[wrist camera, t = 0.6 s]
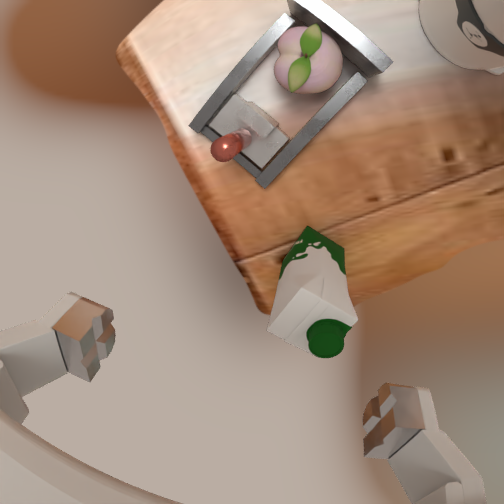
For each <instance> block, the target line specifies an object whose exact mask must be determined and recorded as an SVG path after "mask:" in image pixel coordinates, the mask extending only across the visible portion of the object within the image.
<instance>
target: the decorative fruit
mask: <svg viewBox="0 0 504 504" xmlns="http://www.w3.org/2000/svg"><path fill="white" fill-rule="evenodd" d="M278 50H279V53H280V57H279V58H278V59H277V61H276V63H275V66H274V74H275V77H276V79H277V81H278V82H279V84H280V85H281V86H283V87H284V88H285V89H287V90H289V91H290V92H291V93H292V92H294V93H299V94H312V93H319V92H323V91H325V90H327V89H329V88H330V87H332V86H333V85H334V84H335V83H336V81H337V80H338V78H339V76H340V74H341V71H342V65H343V58H342V53H341V50H340V47H339V45H338V44H337V42H336V41H335V40H334V39H333V38H332V37H331V36H330V35H328V34H326V33H324V32H322V31H321V29H320V27H319V25H318V24H317V23H316V24H313V25H311V26H310V27H305V26H300V27H294V28H290V29H288V30H287V31H285V32H284V33H283V34H282V35H281V37H280V39H279V41H278Z"/></svg>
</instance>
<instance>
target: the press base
mask: <svg viewBox="0 0 504 504" xmlns="http://www.w3.org/2000/svg"><path fill="white" fill-rule="evenodd" d="M287 2H288V6H289V9H290V13H291V14H292V15H294V16H295V17H296V18H298V19H299V20H301V21H302V22H303V23H305V24H306V25H307V26H309V27H310V26H311V25H313V24H316V23H317V24H318V25H319V27H320V29H321V31H322V32H324V33H326V34H328V35H330V36H331V37H332V38H333V39H334V40H335V41H336V42H337V44H338V45H339V47H340V50H341V53H342V54H344V55H345V56H346V57H347V58H348V59H349V60H350V61H352V62H353V63H354V64H355V65H356V66H357V67H358V68H359V69H360V70H362V71H363V72H364V73H365V74H366V75H367V76H368V77H372V76H375V75H377V74H380V73H383V72H384V71H385V70H386V69H387V68H388V67H389V66H390V65H391V64H392V63H393V61H392V60H391V59H390V58H389V57H388V56H387V55H386V54H385V53H384V52H383V51H382V50H381V49H379V48H378V47H377V46H376V45H375V44H374V43H373V42H372V41H371V40H370V39H368V38H367V37H366V36H365V35H364V34H363V33H361V32H360V31H359V30H358V29H357V28H356V27H354V26H353V25H352V24H351V23H349V22H348V21H347V20H346V19H345V18H343V17H342V16H341V15H339V14H338V13H337V12H336V11H334V10H333V9H332V8H330V7H329V6H328V5H326V4H325V3H323V2H322V1H321V0H287ZM295 26H296V22H295V20H294V19H292V18H291V17H289V16H288V15H286V14H285V13H284V14H283V15H282V16H281V17H280V18H279V19H278V20H277V21H276V22H275V23H274V24H273V25H272V26H271V27H270V29H269V30H268V31H267V32H266V33H265V34H264V35H263V36H262V37H261V38H260V39H259V40H258V41H257V43H256V44H255V45H254V46H253V47H252V48H251V49H250V50H249V51H248V53H247V54H246V55H245V56H244V57H243V58H242V59H241V61H240V62H239V63H238V64H237V65H236V66H235V68H234V69H233V70H232V71H231V72H230V74H229V75H228V76H227V77H226V78H225V80H224V81H223V82H222V83H221V84H220V86H219V87H218V88H217V89H216V91H215V92H214V93H213V94H212V96H211V97H210V98H209V100H208V101H207V102H206V103H205V105H204V106H203V107H202V109H201V110H200V111H199V112H198V114H197V115H196V116H195V118H194V119H193V120H192V122H191V123H190V125H189V127H191V128H192V129H193V130H194V131H196V132H197V133H200V132H201V133H202V134H203V135H205V136H206V137H207V138H208V139H210V140H211V141H212V142H214V141H215V140H216V139H218V138H220V137H222V135H221V134H220V133H218V132H217V131H216V130H215V129H213V128H212V127H211V126H210V125H209V124H210V123H211V122H212V121H213V119H214V118H215V117H216V116H217V114H218V113H219V112H220V111H221V109H222V108H223V107H224V106H225V104H226V103H227V102H228V101H229V99H230V98H231V97H232V96H233V95H234V93H235V92H236V91H237V90H238V89H239V87H240V86H241V85H242V84H243V83H244V82H245V80H246V79H247V78H248V77H249V76H250V75H251V73H252V72H253V71H254V70H255V69H256V68H257V67H258V66H259V64H260V63H261V62H262V61H263V60H264V59H265V58H266V57H267V56H268V54H269V53H270V52H271V51H272V50H273V49H274V48H275V47H276V46H277V45H278V41H279V39H280V37H281V35H282V34H283V33H284V32H285V31H287V30H288V29H290V28H294V27H295ZM366 82H367V80H366V79H365V78H364V77H363V76H362V75H361V74H360V73H359V72H356V73H355V74H354V75H353V76H352V77H351V78H350V79H349V80H348V81H347V82H346V83H345V84H344V85H343V86H342V87H341V88H340V89H339V90H338V91H337V92H336V93H335V94H334V95H333V96H332V97H331V98H330V99H329V100H328V101H327V102H326V103H325V105H324V106H323V107H322V108H321V109H320V110H319V111H318V112H317V113H316V114H315V115H314V116H313V117H312V118H311V119H310V120H309V121H308V122H307V123H306V125H305V126H304V127H303V128H302V129H301V130H300V131H299V132H298V133H297V134H296V135H295V136H294V137H293V138H292V140H291V141H290V142H289V143H288V144H287V145H286V146H285V147H284V148H283V149H282V150H281V151H280V153H279V154H278V155H277V156H276V157H275V158H274V159H273V160H272V161H271V162H270V164H269V165H268V166H267V167H266V168H265V169H264V170H263V169H262V168H261V167H259V166H258V165H257V164H256V163H255V162H254V161H252V160H251V159H250V158H249V157H248V156H246V155H245V154H244V153H243V152H242V151H241V152H240V153H238V154H237V155H236V156H235V157H233V159H234V160H235V161H237V162H238V163H239V164H240V165H241V166H243V167H244V168H245V169H246V170H247V171H248V172H250V173H251V174H252V175H253V176H254V177H256V178H257V179H256V180H255V181H256V182H258V183H259V184H260V185H261V186H262V187H263V188H266V187H267V186H268V185H269V184H270V183H271V182H272V181H273V180H274V178H275V177H276V176H277V175H278V174H279V173H280V172H281V171H282V170H283V169H284V168H285V167H286V166H287V164H288V163H289V162H290V161H291V160H292V159H293V158H294V157H295V156H296V155H297V154H298V153H299V152H300V151H301V150H302V149H303V147H304V146H305V145H306V144H307V143H308V142H309V141H310V140H311V139H312V138H313V137H314V136H315V135H316V134H317V133H318V132H319V131H320V130H321V129H322V128H323V126H324V125H325V124H326V123H327V122H328V121H329V120H330V119H331V118H332V117H333V116H334V115H335V114H336V113H337V112H338V111H339V110H340V109H341V108H342V107H343V106H344V105H345V104H346V103H347V102H348V101H349V100H350V99H351V98H352V97H353V96H354V95H355V94H356V93H357V92H358V91H359V90H360V89H361V88H362V87H363V85H364V84H365V83H366Z"/></svg>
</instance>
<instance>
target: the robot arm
mask: <svg viewBox="0 0 504 504" xmlns="http://www.w3.org/2000/svg"><path fill="white" fill-rule="evenodd" d="M419 16H420V21H421V24H422V27H423V30H424V32H425V34H426V36H427V37H428V39H429V41H430V42H431V44H432V45H433V46H434V47H435V49H436V50H437V51H438V52H439V53H440V54H441V55H442V56H444V57H445V58H446V59H447V60H449V61H450V62H452V63H454V64H456V65H458V66H460V67H463V68H466V69H482V70H486V71H488V72H490V73H492V74H494V75H500V74H502V73H503V72H504V0H419ZM113 319H114V317H113V311H112V310H111V309H110V308H107V307H105V306H103V305H101V304H98V303H96V302H94V301H91V300H89V299H87V298H84V297H82V296H79V295H77V294H75V293H73V292H70V293H67V294H66V295H64V297H62V298H61V299H60V300H59V302H57V303H56V304H55V305H54V307H52V308H51V309H50V310H49V311H48V312H47V313H46V314H45V315H44V316H43V318H41V319H40V320H39V321H36V320H33V321H30V322H27V323H24V324H20V325H17V326H14V327H11V328H8V329H5V330H2V331H0V504H182V503H179V502H176V501H173V500H170V499H167V498H164V497H161V496H158V495H156V494H153V493H150V492H148V491H145V490H142V489H140V488H137V487H135V486H132V485H130V484H128V483H125V482H123V481H120V480H118V479H116V478H114V477H112V476H110V475H108V474H105V473H103V472H101V471H99V470H97V469H95V468H93V467H91V466H89V465H87V464H85V463H83V462H82V461H80V460H78V459H76V458H74V457H72V456H71V455H69V454H67V453H65V452H63V451H62V450H60V449H58V448H57V447H55V446H53V445H52V444H50V443H48V442H47V441H45V440H44V439H42V438H41V437H39V436H37V435H36V434H34V433H33V432H31V431H30V430H28V429H27V428H26V427H24V426H23V425H21V424H22V423H23V421H24V419H25V418H26V417H27V415H28V413H29V409H28V407H27V405H26V404H25V402H24V400H23V399H22V397H23V396H25V395H27V394H29V393H31V392H32V391H34V390H36V389H38V388H40V387H42V386H44V385H46V384H48V383H50V382H52V381H54V380H56V379H58V378H60V377H61V376H63V375H65V374H67V372H69V373H71V374H73V375H75V376H77V377H79V378H82V379H84V380H86V381H88V382H91V380H92V379H93V377H94V376H95V374H96V373H97V372H98V370H99V369H100V360H102V359H104V358H107V357H108V356H109V354H110V352H111V351H112V348H113V345H114V343H115V336H116V335H115V329H114V327H113V326H112V325H111V322H112V320H113ZM363 428H364V429H365V430H366V432H367V433H368V434H367V435H366V436H365V438H364V439H363V443H364V457H369V458H381V459H388V462H389V464H390V466H391V468H392V469H393V471H394V473H395V475H396V476H397V478H398V480H399V482H400V483H401V485H402V487H403V489H404V491H405V492H406V494H407V496H408V498H409V499H410V501H411V503H412V504H486V497H485V491H484V485H483V480H482V477H481V476H480V474H479V473H478V472H477V471H476V469H475V468H474V467H473V466H472V465H471V463H470V462H469V461H468V460H467V458H466V457H465V456H464V455H463V454H462V452H461V451H460V450H459V449H458V448H457V447H456V445H455V444H454V443H453V442H452V441H451V440H450V438H449V437H448V436H447V435H446V434H445V432H444V431H442V430H439V426H438V421H437V417H436V413H435V409H434V404H433V400H432V397H431V393H430V390H429V389H428V388H423V387H413V386H407V385H399V384H391V383H384V384H383V385H382V386H381V387H380V388H379V389H378V396H376V397H374V398H372V399H371V400H370V401H369V403H368V404H367V405H366V408H365V410H364V413H363Z"/></svg>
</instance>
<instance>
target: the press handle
mask: <svg viewBox="0 0 504 504" xmlns="http://www.w3.org/2000/svg"><path fill="white" fill-rule="evenodd" d="M278 125H279V123H278V122H276V121H275V120H274V119H273V118H272V117H270V116H269V115H268V114H267V113H266V112H264V111H263V110H262V109H261V108H259V107H258V106H257V105H256V104H255V103H253V102H247V101H245V100H244V99H243V98H242V97H240V96H239V95H238V94H234V95H233V96H232V97H231V99H230V100H229V101H228V102H227V104H226V105H225V106H224V107H223V108H222V110H221V111H220V112H219V113H218V115H217V116H216V117H215V118H214V120H213V121H212V122H211V124H210V126H211V127H212V128H213V129H215V130H216V131H217V132H218V133H220V134H221V135H222V137H220V138H218V139H216V140H215V141H214V142H213V143H212V145H211V154H212V156H213V157H214V158H215V159H216V160H217V161H220V162H227V161H229V160H231V159H232V158H233V157H235V156H236V155H237V154H238V153H240V152H241V151H242V152H243V153H244V154H245V155H246V156H248V157H249V158H250V159H251V160H252V161H254V162H255V163H256V164H257V165H258V166H259V167H261V168H263V167H264V166H265V164H266V163H267V162H268V161H269V160H270V159H271V158H272V157H273V156H274V154H275V153H276V152H277V151H278V150H279V149H280V148H281V147H282V146H283V145H284V144H285V142H286V141H287V140H288V139H289V138H290V137H289V136H288V135H287V134H285V133H284V132H283V131H282V130H281V129H280V128H278V127H277V126H278Z"/></svg>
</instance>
